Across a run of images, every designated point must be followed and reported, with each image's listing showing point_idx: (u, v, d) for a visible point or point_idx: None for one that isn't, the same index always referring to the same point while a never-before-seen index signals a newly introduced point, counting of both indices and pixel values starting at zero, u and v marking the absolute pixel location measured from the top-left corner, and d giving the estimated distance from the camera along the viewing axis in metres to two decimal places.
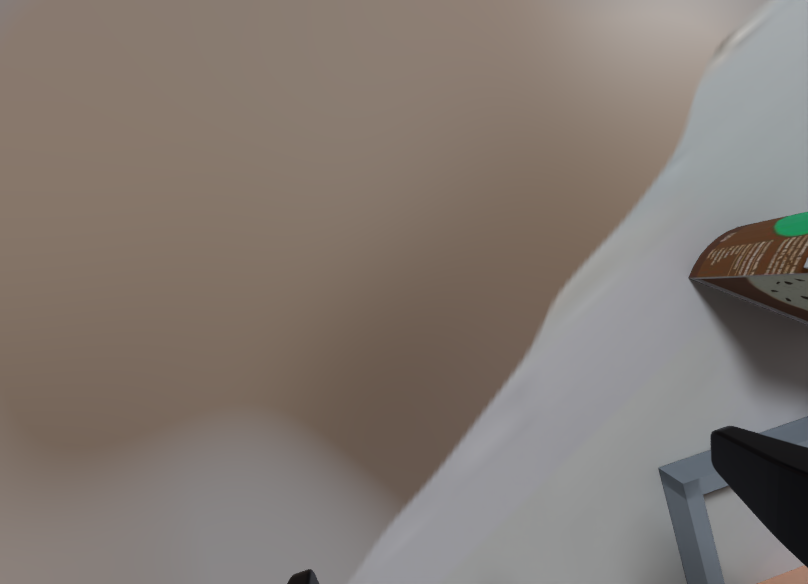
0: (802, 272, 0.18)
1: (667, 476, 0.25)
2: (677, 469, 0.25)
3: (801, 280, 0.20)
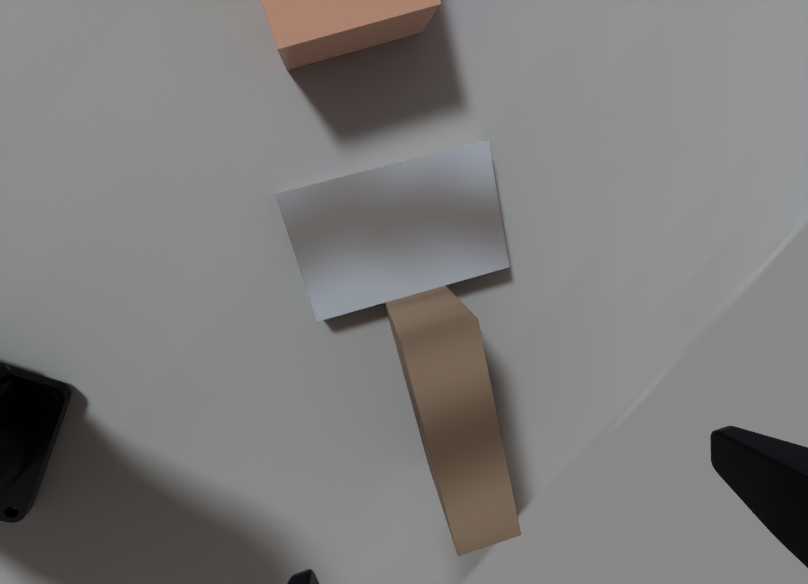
0: None
1: None
2: None
3: None
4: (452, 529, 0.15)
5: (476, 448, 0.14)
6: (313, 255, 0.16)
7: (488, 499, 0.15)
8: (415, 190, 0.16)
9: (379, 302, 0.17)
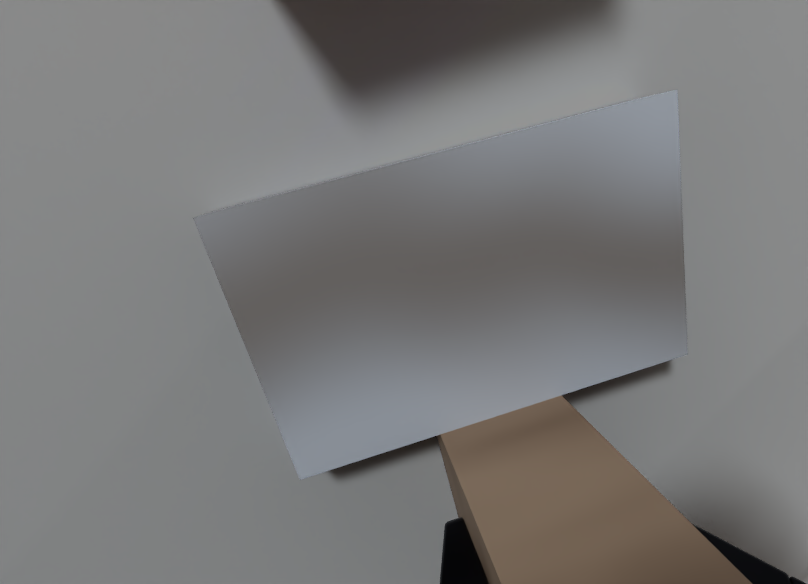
0: None
1: None
2: None
3: None
4: None
5: None
6: (288, 349, 0.07)
7: None
8: (513, 204, 0.07)
9: (428, 435, 0.08)
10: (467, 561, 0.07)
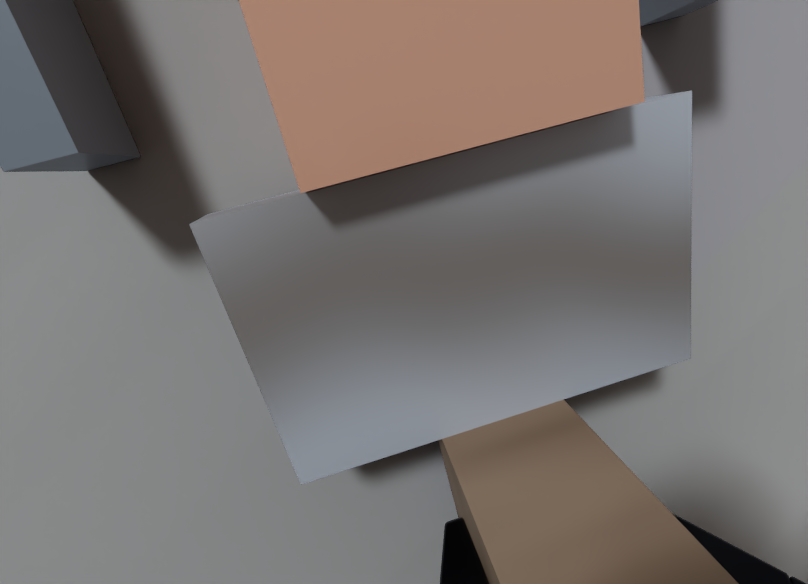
0: None
1: None
2: None
3: None
4: None
5: None
6: (288, 356, 0.07)
7: None
8: (520, 209, 0.07)
9: (430, 440, 0.08)
10: (467, 561, 0.07)
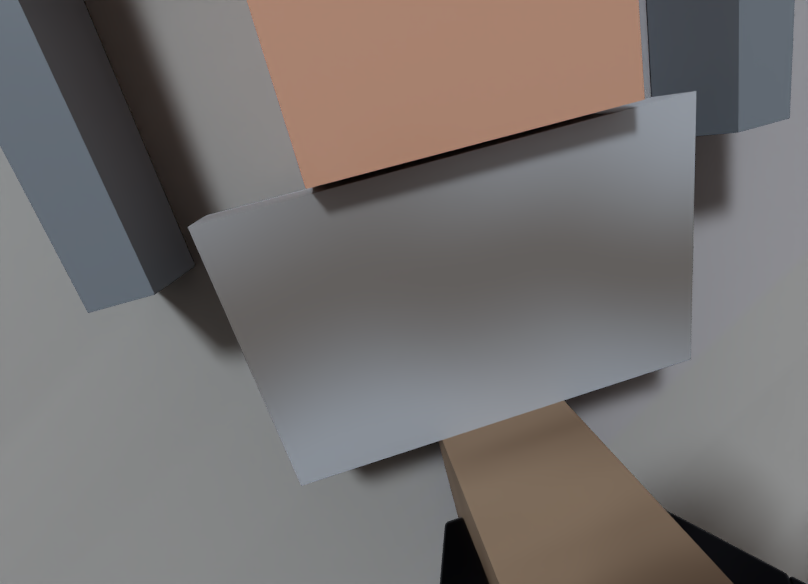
0: None
1: None
2: None
3: None
4: None
5: None
6: (288, 359, 0.07)
7: None
8: (522, 210, 0.07)
9: (430, 441, 0.08)
10: (467, 561, 0.07)
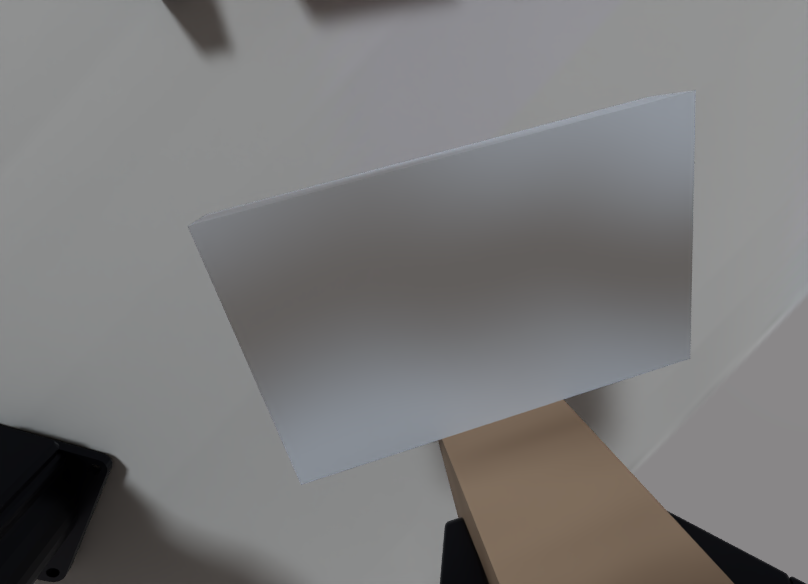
0: None
1: None
2: None
3: None
4: None
5: None
6: (288, 358, 0.07)
7: None
8: (522, 210, 0.07)
9: (430, 440, 0.08)
10: (467, 561, 0.07)
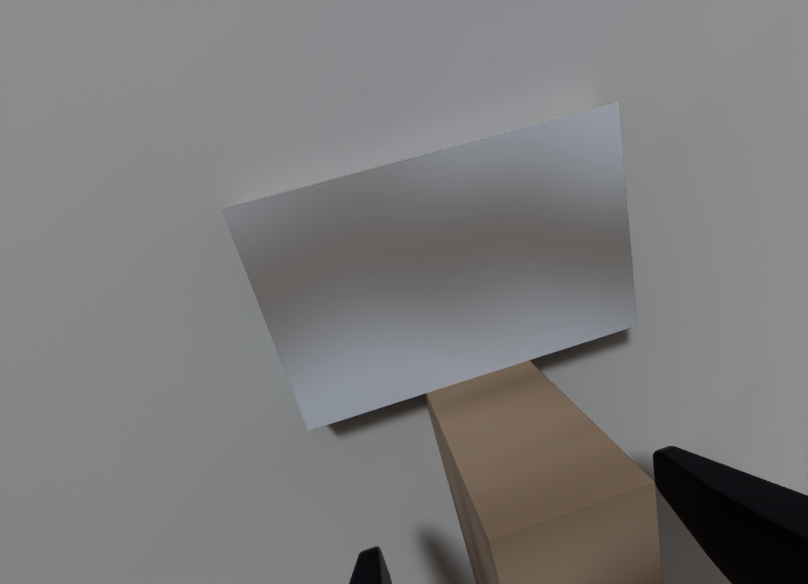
0: None
1: None
2: None
3: None
4: None
5: None
6: (298, 318, 0.09)
7: None
8: (484, 197, 0.09)
9: (416, 393, 0.09)
10: None
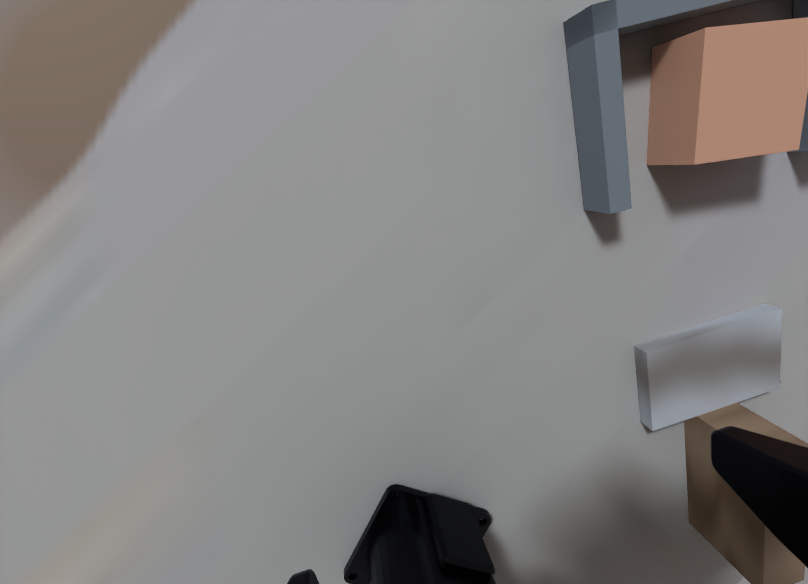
0: None
1: (573, 23, 0.17)
2: None
3: None
4: (764, 578, 0.22)
5: None
6: (660, 388, 0.23)
7: (790, 557, 0.22)
8: (731, 343, 0.23)
9: (693, 416, 0.24)
10: None
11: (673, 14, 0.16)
